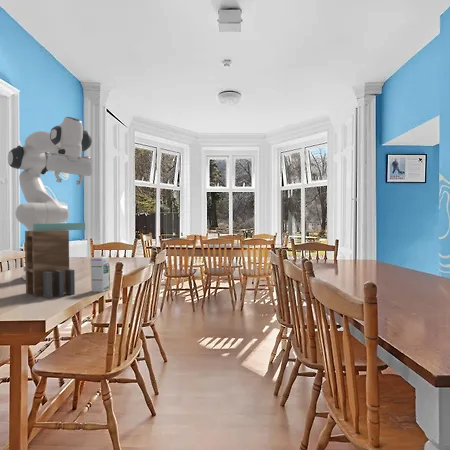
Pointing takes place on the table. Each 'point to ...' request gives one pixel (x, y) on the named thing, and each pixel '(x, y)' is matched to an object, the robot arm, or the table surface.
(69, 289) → the domino
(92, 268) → the syrup box
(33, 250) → the walnut stand
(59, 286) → the domino
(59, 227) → the teal tile bar
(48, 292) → the domino
